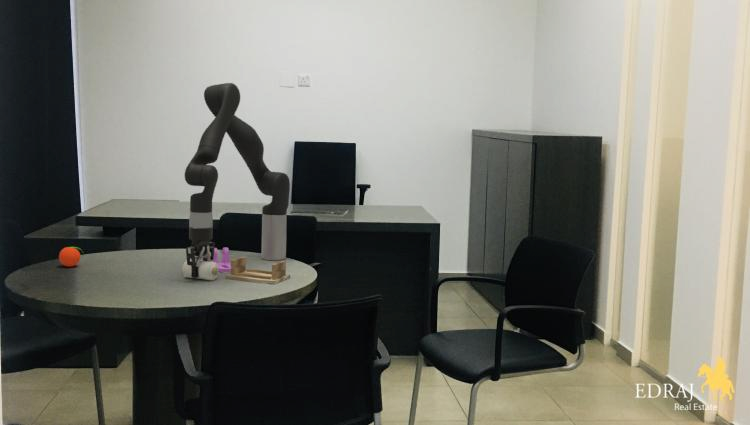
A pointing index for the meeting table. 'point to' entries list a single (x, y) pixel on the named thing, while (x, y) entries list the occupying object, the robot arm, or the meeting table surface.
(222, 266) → the bracket
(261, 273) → the cradle
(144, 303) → the meeting table surface
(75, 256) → the clementine
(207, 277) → the roll
